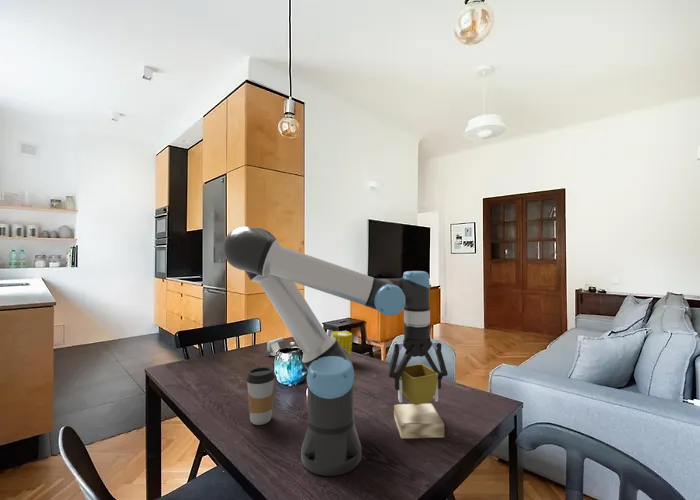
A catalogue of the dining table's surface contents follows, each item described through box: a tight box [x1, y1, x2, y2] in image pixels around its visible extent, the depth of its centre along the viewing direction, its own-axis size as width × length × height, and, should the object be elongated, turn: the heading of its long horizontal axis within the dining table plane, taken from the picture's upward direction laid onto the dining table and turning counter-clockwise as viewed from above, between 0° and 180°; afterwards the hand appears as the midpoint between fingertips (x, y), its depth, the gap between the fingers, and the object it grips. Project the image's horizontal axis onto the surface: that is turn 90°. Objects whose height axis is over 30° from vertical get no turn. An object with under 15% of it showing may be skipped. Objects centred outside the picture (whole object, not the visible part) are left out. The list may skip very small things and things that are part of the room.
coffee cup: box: [246, 366, 275, 426], centre depth 103 cm, size 8×8×15 cm
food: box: [331, 330, 354, 357], centre depth 153 cm, size 15×12×10 cm
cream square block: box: [393, 403, 445, 439], centre depth 99 cm, size 12×12×4 cm
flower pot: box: [401, 363, 438, 405], centre depth 98 cm, size 9×9×9 cm
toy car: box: [264, 337, 298, 358], centre depth 165 cm, size 18×10×12 cm
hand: (417, 400), depth 98 cm, fingers closed on flower pot, 10 cm apart
